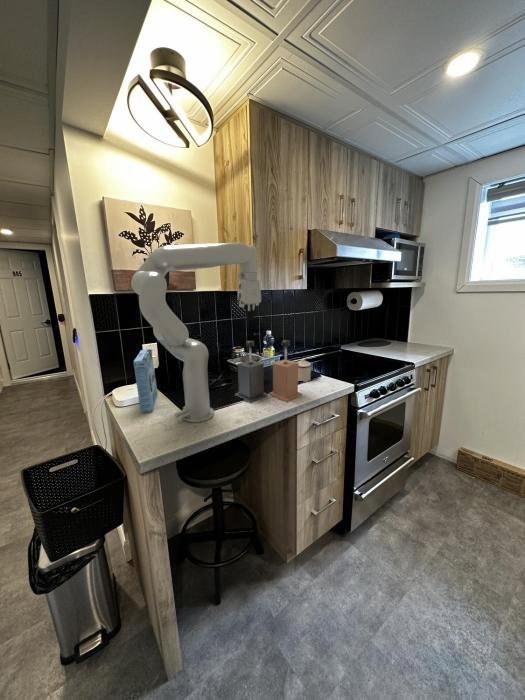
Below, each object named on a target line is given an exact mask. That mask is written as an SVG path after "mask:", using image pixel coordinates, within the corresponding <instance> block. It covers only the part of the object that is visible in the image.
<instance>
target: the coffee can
mask: <svg viewBox="0 0 525 700" xmlns="http://www.w3.org/2000/svg"><path fill="white" fill-rule="evenodd" d="M251 358H252V360H254V361H257V362H260V363H261V357H260V356H259V355H253V354H251ZM246 361H249V354H248V355H243V356H241V357H240V363H242V362H246Z"/></svg>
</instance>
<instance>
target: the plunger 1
mask: <svg viewBox="0 0 525 700" xmlns="http://www.w3.org/2000/svg"><path fill="white" fill-rule="evenodd" d="M245 346H246V347H247V348H248V353H249V354H248V355H249V365H251V364H252V358H251V355H252V348H253V347H255V341H254V340H246V341H245Z"/></svg>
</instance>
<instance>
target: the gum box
mask: <svg viewBox="0 0 525 700" xmlns="http://www.w3.org/2000/svg"><path fill="white" fill-rule="evenodd" d="M153 359H154V358H153V351H152V348H150V349H141V350H140V351H139V353H138V354H137V356H136V357H135V358H134V360H133V368H134V374H135V382H136V388H137V394H138V401H139V402H138V403H139V408H140V414H144V413H151V412H153V411H154V406H155V402H156V400H157V397H158V388H157V380H156V373H155V366H154V360H153Z"/></svg>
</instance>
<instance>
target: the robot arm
mask: <svg viewBox="0 0 525 700" xmlns="http://www.w3.org/2000/svg"><path fill="white" fill-rule="evenodd" d="M231 265H238V266H239V273H238V274H237V277H238V278H239V280H238V284H237V301H238V302H237V303H238V307H239V308H243V311H245V320H247V321H253V320H254V311H255V308H256V307H257V306H259V305H260V303H261V302H262V291H261V285H260V280H259V279H258V251H257V248H256V246H254V245H248V244H246V243H244V242H228V243H225V242H224V243H195V244H193V243H192V244H167V245H163V246H160V247H157V248H155V249H153V250H152V251H151V252H150V254H149V255H148V256H147V258H146V259H145V260H144V261H143V263H142V264H141V265H140V266H139V268H138V269H137V270H136V272H135V273H134V274H133V276H132V278H131V282H130V285H131V289H132V290H133V291H134V292H135V293H136V295H138V304H139V308H140V312H141V315H142V316H143V318H145V320H146V321H147V322H148V324H150V325H151V327H152V330H153V335H154V337H155V338H156V339H157V341H158V342H159V343H160V344H161V345H162V346H163V347H164V348H165V349H166V350H167V351H168V352H169V353H170V354H171V355H172V356H174V358H176V359H178V360H180V361H182V362H183V369H182V382H183V391H184V403H185V405H184V406H183V407H182V408H183V409H181V410H180V411H177V412H175V413H174V415H173V416H174V417H175V418H176V419H177V418H181V419H183V420H184V421H185V422H188V423H202V422H205V421H208V420H210V419H211V418H212V417H214V415H215V411H214V409H213V408H212V407H210V392H209V391H210V390H209V378H208V377H209V375H208V362H209V350H208V348H207V346H206V344H204V343H203V342H201V341H199V340H197V339H194V338H190V337H189V330H188V328H187V326H186V325H185V324H184V323H183V322H182V321H181V319H179V317H178V316H177V315H176V314H175V313H174V312H173V310H172V309H171V308H170V307H169V305H168V303H167V301H166V293H167V289H168V285H167V279H166V278H165V277H166V275H167V273H169V272H179V271H188V270H202V269H210V268H214V267H221V266H231Z"/></svg>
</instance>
